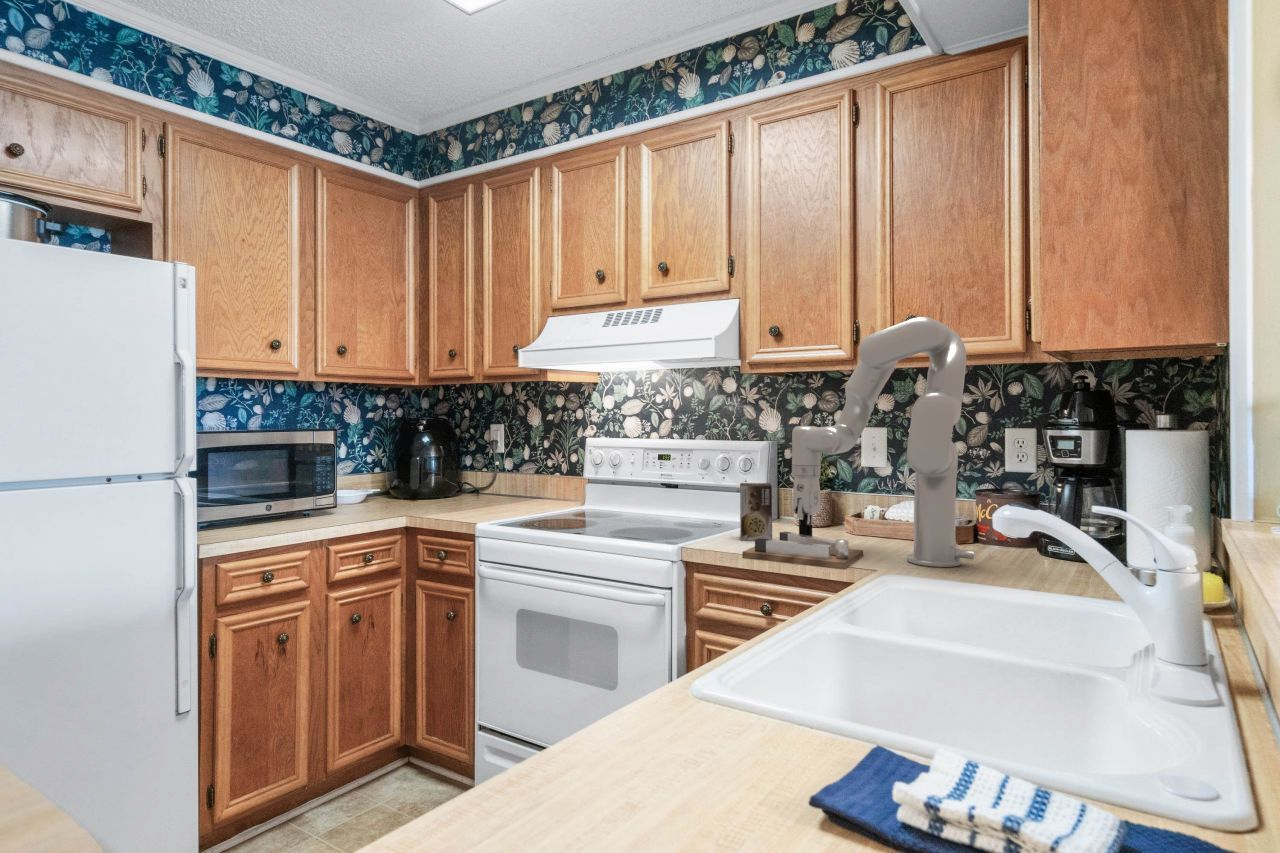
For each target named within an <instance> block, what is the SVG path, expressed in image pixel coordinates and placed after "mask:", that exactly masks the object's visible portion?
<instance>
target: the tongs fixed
mask: <svg viewBox="0 0 1280 853" xmlns="http://www.w3.org/2000/svg"><path fill="white" fill-rule="evenodd" d="M835 541H836V559H842V560H845V559H848V549H849V539H843V538H841V539H840V538H839V539H838V538H837V539H835ZM754 547H755V551H756V552H765V553H775V554H784V555H794V556H803V557H812V558H822V559H830V558H831V545H823V544H812V543H802V542H792V541H781V540H780V539H772V540H771V539H761V538H758V539H755V541H754Z"/></svg>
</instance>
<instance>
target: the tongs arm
mask: <svg viewBox="0 0 1280 853" xmlns="http://www.w3.org/2000/svg"><path fill="white" fill-rule="evenodd" d="M779 540H781V541H792V542H802V543H812V544H823V545H831V554H832V555H836V540H833V539H827V538H823V537H816V536H813V535H812V536H807V535H802V534H799V533H795V532H791V531H781V532H779Z"/></svg>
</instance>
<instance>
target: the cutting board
mask: <svg viewBox="0 0 1280 853" xmlns="http://www.w3.org/2000/svg"><path fill="white" fill-rule="evenodd" d="M741 553H742V554H741V555H742V557H741V558H743V559H751V560H758V561H759V560H761V561H768V562H769V561H770V562H778V563H787V564H794V565H795V564H796V565H804V566H805V565H806V566H811V567H812V566H814V567H822V568H831V569H841V570H845V569H847V568H848V567H850V566H851V565H852V563H853V562H854V563H855V561H856V560H857V561H858V560H860V559H861V558H863V557H864V550H863V549H854V548H848V559H845V560H842V559H836V555H832V554H831V558H830V559H822V558H812V557H803V556H794V555H784V554H775V553H765V552H756V551H755V546H752V547H750V548H748V549H746V550H744V551H742V552H741ZM862 556H863V557H862ZM860 557H861V558H860ZM859 558H860V559H859ZM857 561H856V562H857ZM854 563H853V564H854ZM850 564H851V565H850ZM849 565H850V566H849Z"/></svg>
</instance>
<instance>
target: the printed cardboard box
mask: <svg viewBox="0 0 1280 853" xmlns="http://www.w3.org/2000/svg"><path fill="white" fill-rule="evenodd" d="M739 502H740V503H739V504H740V505H739V514H740V516H739V517H740V518H739V524H740V525H739V527H740V530H739V533H740V534H739V538H740V541H742V542H743V541H745V542H746V541H751V542H752V541H753V542H755V539H758V538H761V539H771V540H773V485H772V484H771V483H770V482H740V483H739Z"/></svg>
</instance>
